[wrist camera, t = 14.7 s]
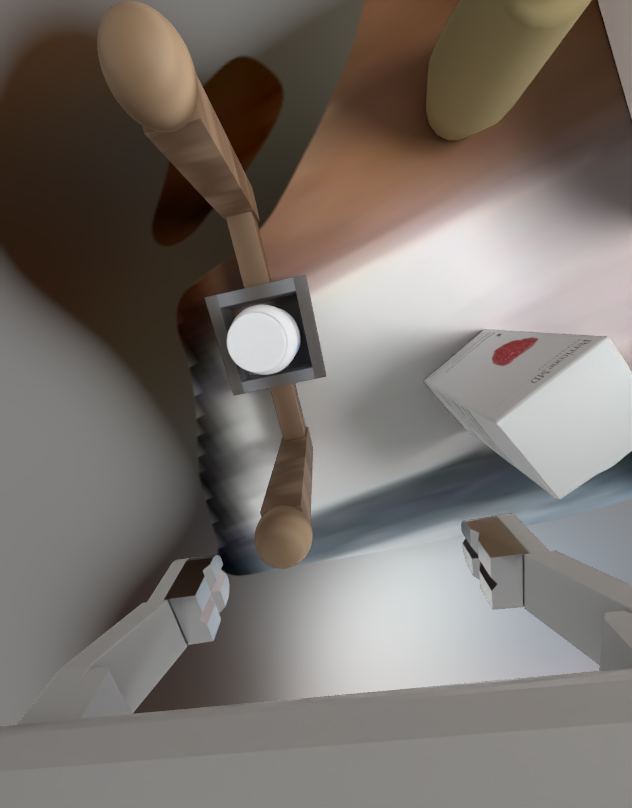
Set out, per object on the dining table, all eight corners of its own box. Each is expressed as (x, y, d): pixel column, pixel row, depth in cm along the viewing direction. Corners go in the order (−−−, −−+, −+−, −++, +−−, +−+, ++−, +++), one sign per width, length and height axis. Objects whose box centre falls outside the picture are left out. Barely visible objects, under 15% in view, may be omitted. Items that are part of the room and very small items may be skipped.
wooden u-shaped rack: (284, 173, 29) (230, -73, 11) (340, 447, 37) (363, 570, 19) (188, 197, 30) (-17, 2, 11) (264, 462, 38) (214, 595, 19)
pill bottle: (260, 370, 35) (235, 392, 24) (240, 319, 33) (202, 318, 22) (309, 353, 34) (306, 368, 23) (290, 300, 32) (277, 289, 22)
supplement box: (485, 325, 33) (614, 329, 19) (528, 383, 35) (677, 427, 20) (420, 380, 35) (493, 422, 20) (465, 432, 37) (561, 504, 22)
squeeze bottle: (501, 145, 28) (787, -127, 11) (417, 164, 29) (567, -68, 12) (498, 38, 26) (848, -505, 9) (408, 61, 27) (575, -413, 9)
